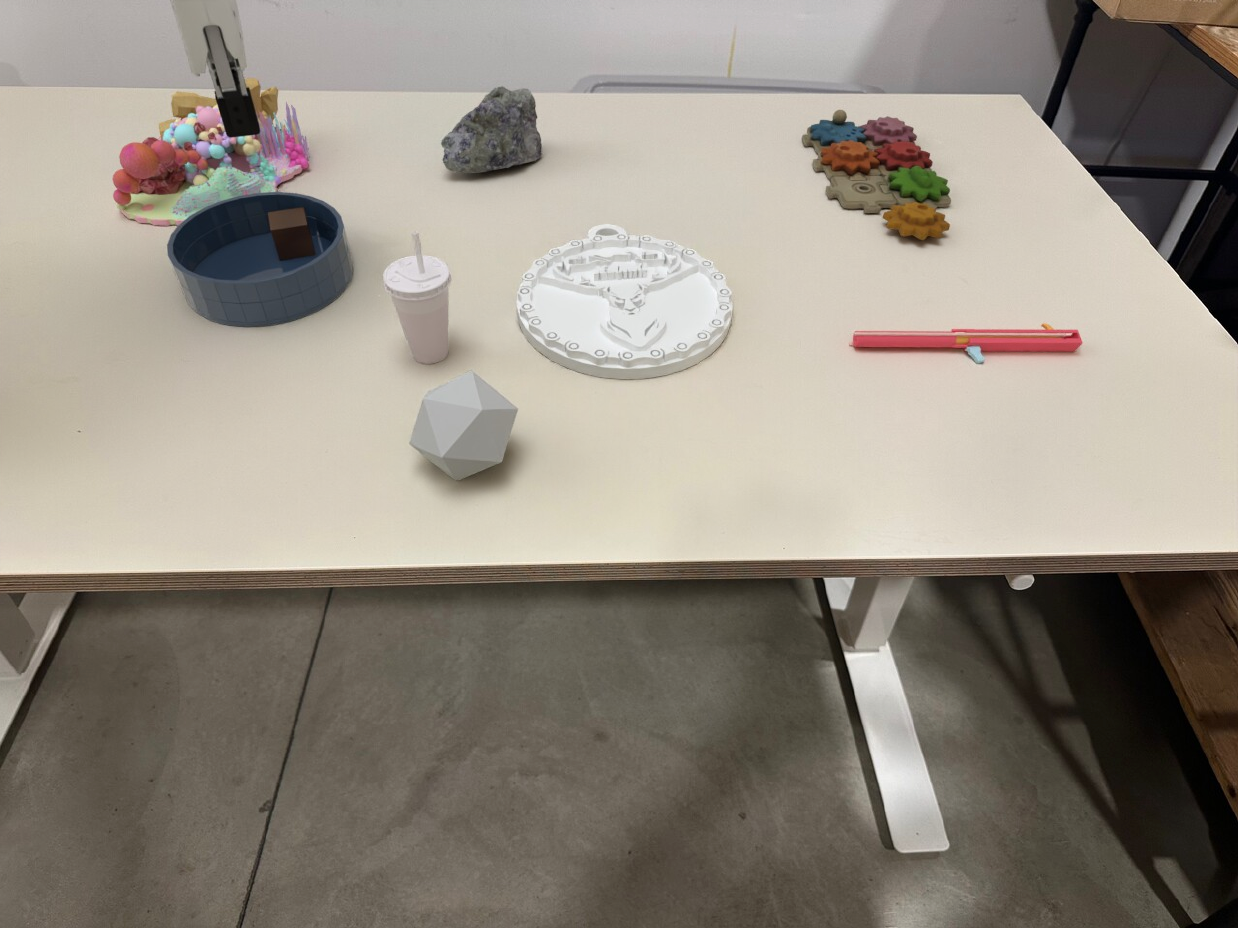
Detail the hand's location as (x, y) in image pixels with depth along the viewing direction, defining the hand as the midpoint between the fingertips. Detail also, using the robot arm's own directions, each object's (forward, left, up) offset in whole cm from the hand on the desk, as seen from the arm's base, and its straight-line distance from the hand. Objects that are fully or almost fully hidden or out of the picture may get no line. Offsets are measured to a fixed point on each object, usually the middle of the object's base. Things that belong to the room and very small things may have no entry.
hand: (243, 132), depth 86 cm
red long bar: (+65, -37, -17) cm, 77 cm away
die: (+12, -35, -17) cm, 41 cm away
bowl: (-2, 0, -17) cm, 17 cm away
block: (+2, +4, -16) cm, 16 cm away
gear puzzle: (+76, -4, -17) cm, 78 cm away
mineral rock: (+29, +18, -17) cm, 38 cm away
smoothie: (+12, -19, -17) cm, 28 cm away
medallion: (+34, -17, -17) cm, 42 cm away
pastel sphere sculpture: (-6, +26, -17) cm, 31 cm away
